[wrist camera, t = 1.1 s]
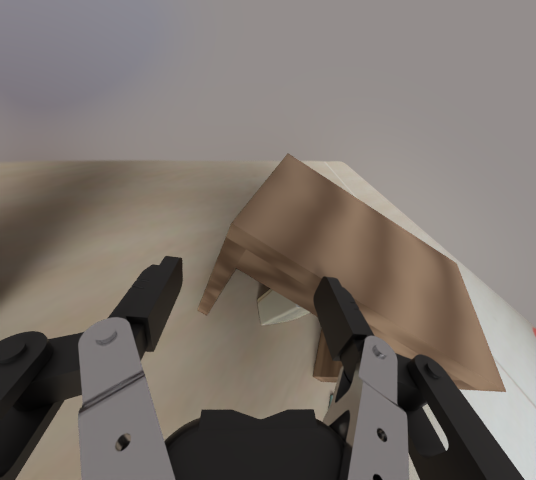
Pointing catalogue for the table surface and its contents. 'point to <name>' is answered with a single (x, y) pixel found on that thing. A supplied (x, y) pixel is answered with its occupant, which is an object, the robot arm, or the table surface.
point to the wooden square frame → (355, 272)
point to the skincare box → (278, 308)
